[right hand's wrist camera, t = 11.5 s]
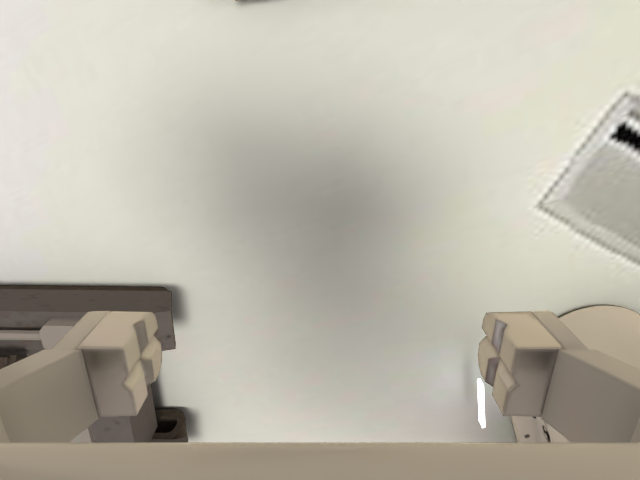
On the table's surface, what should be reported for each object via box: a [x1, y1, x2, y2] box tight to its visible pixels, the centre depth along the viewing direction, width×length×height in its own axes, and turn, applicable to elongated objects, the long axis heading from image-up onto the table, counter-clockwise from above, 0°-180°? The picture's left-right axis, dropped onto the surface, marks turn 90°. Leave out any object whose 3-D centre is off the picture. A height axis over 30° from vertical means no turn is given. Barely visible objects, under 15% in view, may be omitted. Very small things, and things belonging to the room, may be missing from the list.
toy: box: [0, 285, 188, 443], centre depth 39 cm, size 25×20×15 cm
